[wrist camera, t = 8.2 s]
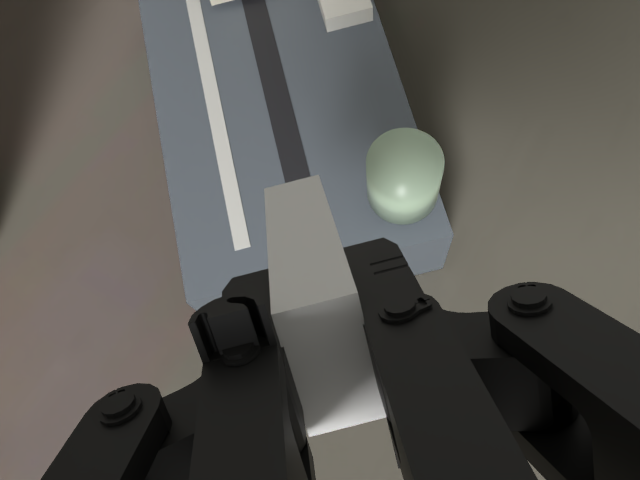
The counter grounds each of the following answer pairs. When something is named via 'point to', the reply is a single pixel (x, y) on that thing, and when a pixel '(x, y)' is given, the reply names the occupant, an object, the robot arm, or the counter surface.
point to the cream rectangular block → (218, 1)
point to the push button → (404, 175)
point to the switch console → (273, 126)
